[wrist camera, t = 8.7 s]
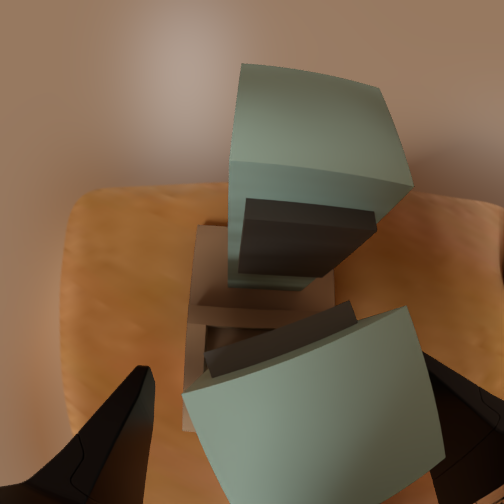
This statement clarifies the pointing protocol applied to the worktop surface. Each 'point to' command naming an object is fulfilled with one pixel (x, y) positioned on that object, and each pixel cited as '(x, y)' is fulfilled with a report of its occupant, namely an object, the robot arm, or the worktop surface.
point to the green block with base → (290, 205)
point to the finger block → (319, 411)
